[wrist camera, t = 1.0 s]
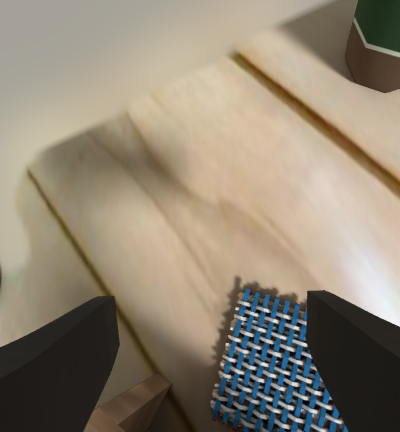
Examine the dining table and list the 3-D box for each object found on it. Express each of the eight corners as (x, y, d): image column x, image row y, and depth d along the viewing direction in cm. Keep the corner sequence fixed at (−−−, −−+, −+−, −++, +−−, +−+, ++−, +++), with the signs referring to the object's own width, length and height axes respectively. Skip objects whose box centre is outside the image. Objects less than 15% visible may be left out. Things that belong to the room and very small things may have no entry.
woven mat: (207, 413, 24) (201, 422, 23) (241, 285, 27) (238, 284, 25) (344, 475, 21) (350, 493, 19) (371, 325, 23) (379, 327, 21)
